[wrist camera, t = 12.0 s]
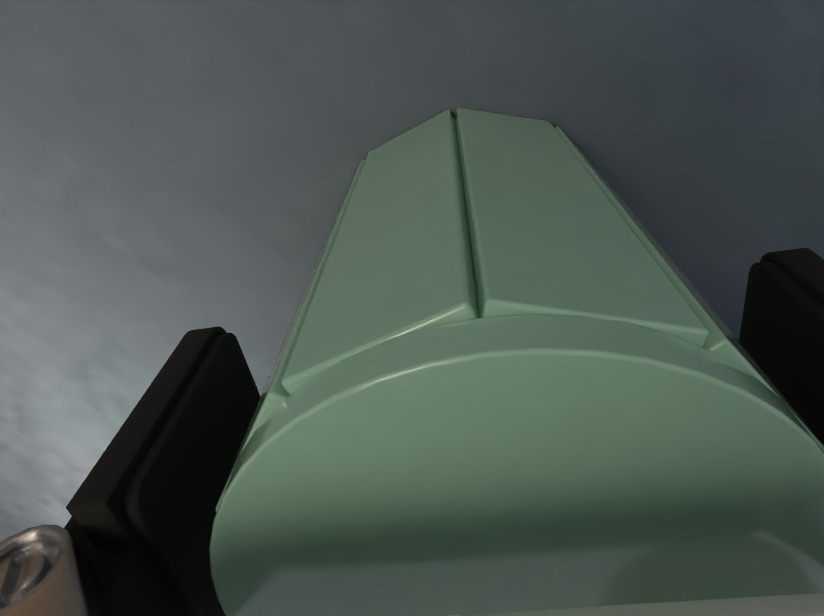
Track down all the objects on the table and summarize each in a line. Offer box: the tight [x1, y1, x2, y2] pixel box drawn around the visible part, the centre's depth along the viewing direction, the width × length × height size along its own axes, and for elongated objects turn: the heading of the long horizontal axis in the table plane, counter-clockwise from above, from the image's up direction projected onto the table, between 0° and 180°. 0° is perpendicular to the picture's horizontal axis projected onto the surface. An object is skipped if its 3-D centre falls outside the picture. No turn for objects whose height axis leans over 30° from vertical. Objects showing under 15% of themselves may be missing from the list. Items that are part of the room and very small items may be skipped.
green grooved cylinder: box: [209, 108, 824, 616], centre depth 10 cm, size 7×7×9 cm
